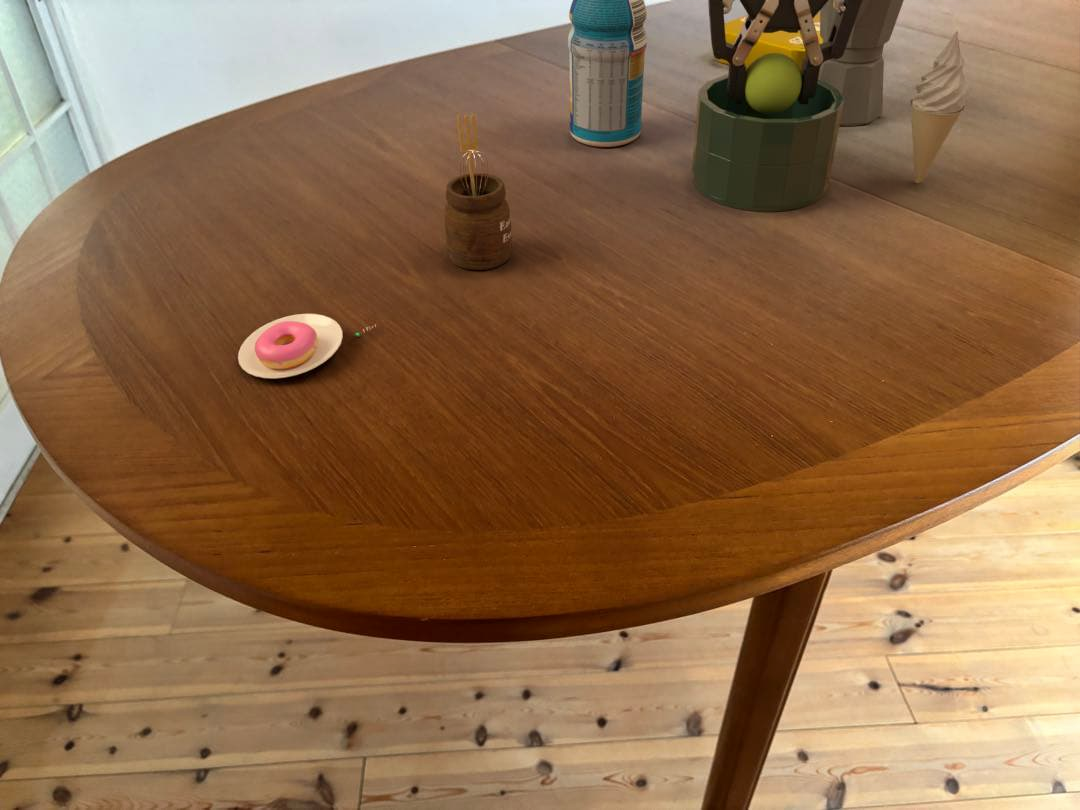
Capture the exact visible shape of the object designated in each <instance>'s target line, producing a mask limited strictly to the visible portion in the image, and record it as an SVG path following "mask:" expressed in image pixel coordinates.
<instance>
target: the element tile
mask: <svg viewBox="0 0 1080 810" xmlns="http://www.w3.org/2000/svg"><path fill="white" fill-rule="evenodd" d="M747 15H748V14H746V15H743V16H739V17H737V18H734V19H732V20H729V21H726V22H724V23H725V37H726V42H727V43H730V44H734V42H735V40H736V38H737V36H738V35H739V32H740V29H741V27H742V25H743V23H744V21H745V19H746V17H747ZM813 21H814V25H815V29H816V32H817V36H818V41H819V44H822V43H823V39H822V38H821V36H820V12H818V13H817V14H816V16H815V17H814V18H813ZM769 53H780V54H784V55H786V56H788V57H790V58H791V59H792V60H793V61H794V62H795V63H796V64H797V65H798V67H799V69H800V72H801V67H802V60H803V59H805V58H806V51H805V48H804V44H803V41H802V37H801V35H800V32H799V31H798V33H788V32H785V31H777V32H774V33H763V32H762V34H761V36H760V38H759V40H758V42H757V43H756V45H754V46H753V48H752V50H751V51H750V53H749V55H748V57H747V59H746V60H745V65H746V70H747V68H748V67H749V66H750V64H751V63H752V62H753V61H754V60H756V59H757V58H759V57H760V56H763V55H765V54H769ZM714 59H715V61H717V62H718V63H721V64H725V65H728V66H729V62H728V61H726V60H723V59H716V58H715V57H714Z"/></svg>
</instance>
